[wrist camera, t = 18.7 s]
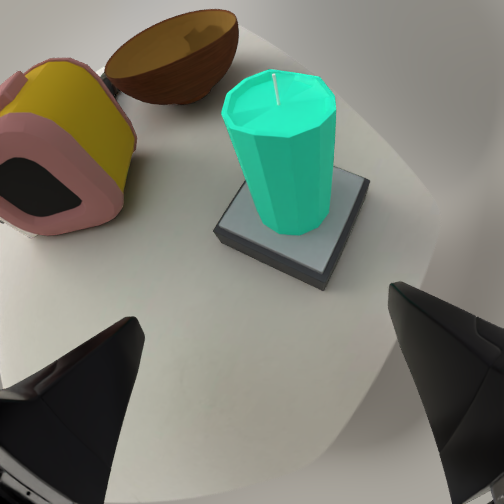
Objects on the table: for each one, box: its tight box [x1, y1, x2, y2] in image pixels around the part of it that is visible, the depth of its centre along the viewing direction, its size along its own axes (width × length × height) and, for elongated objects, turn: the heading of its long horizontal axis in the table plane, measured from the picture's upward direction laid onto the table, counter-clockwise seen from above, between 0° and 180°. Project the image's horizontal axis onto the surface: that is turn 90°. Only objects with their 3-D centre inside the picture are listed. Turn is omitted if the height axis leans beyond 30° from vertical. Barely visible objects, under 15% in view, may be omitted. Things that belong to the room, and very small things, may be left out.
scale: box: [213, 166, 370, 291], centre depth 24 cm, size 10×10×3 cm
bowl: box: [105, 9, 239, 105], centre depth 31 cm, size 18×18×10 cm
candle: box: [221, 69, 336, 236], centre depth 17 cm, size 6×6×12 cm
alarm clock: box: [0, 58, 137, 236], centre depth 23 cm, size 18×11×19 cm, turn 92°
